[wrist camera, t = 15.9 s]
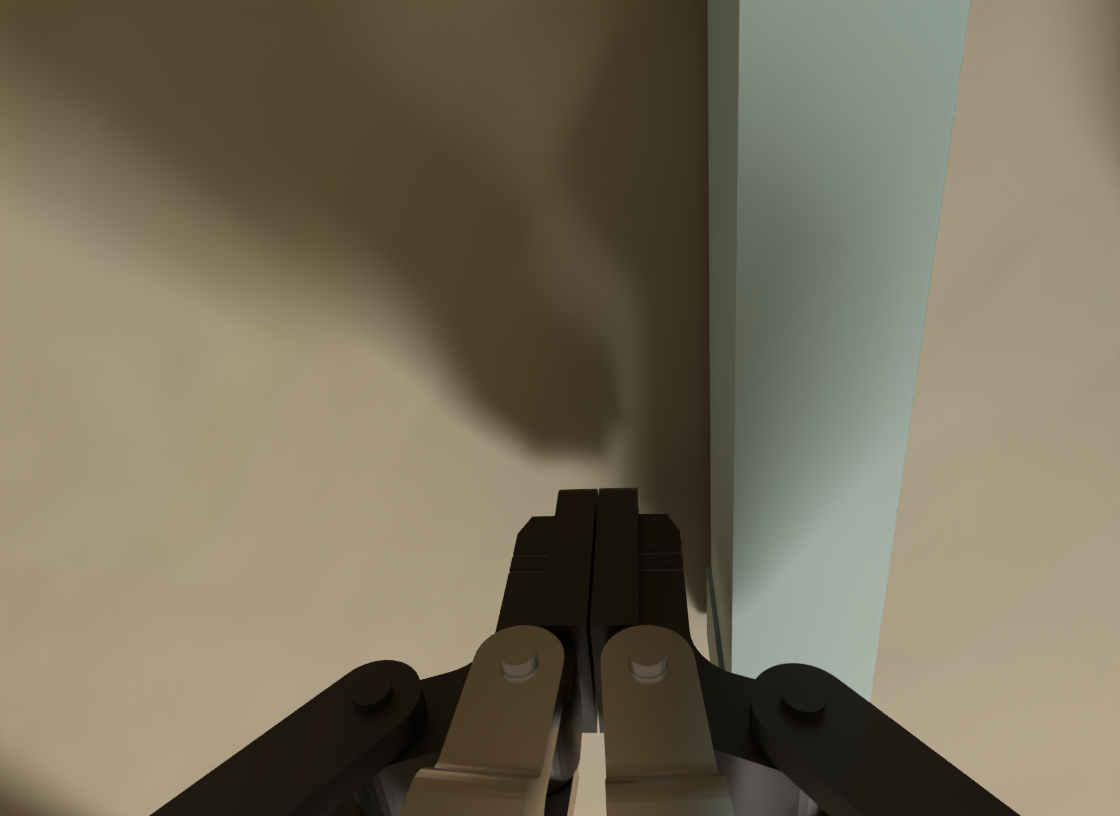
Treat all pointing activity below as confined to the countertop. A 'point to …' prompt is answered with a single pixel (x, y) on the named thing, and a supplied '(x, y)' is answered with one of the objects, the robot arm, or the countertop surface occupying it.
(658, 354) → the countertop surface
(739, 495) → the bar
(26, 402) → the countertop surface
